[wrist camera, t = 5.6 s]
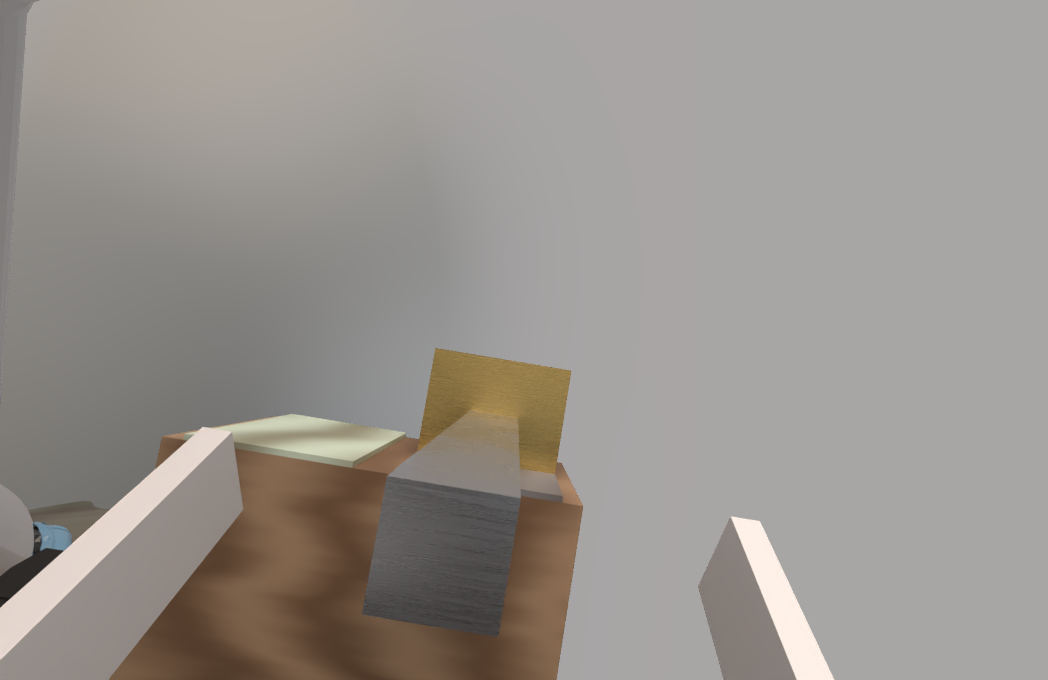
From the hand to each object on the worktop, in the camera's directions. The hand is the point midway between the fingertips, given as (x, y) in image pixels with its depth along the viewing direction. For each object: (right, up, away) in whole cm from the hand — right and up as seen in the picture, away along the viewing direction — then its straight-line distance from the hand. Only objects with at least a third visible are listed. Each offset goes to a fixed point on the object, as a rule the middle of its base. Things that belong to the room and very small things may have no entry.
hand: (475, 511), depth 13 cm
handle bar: (-1, -2, +9) cm, 9 cm away
